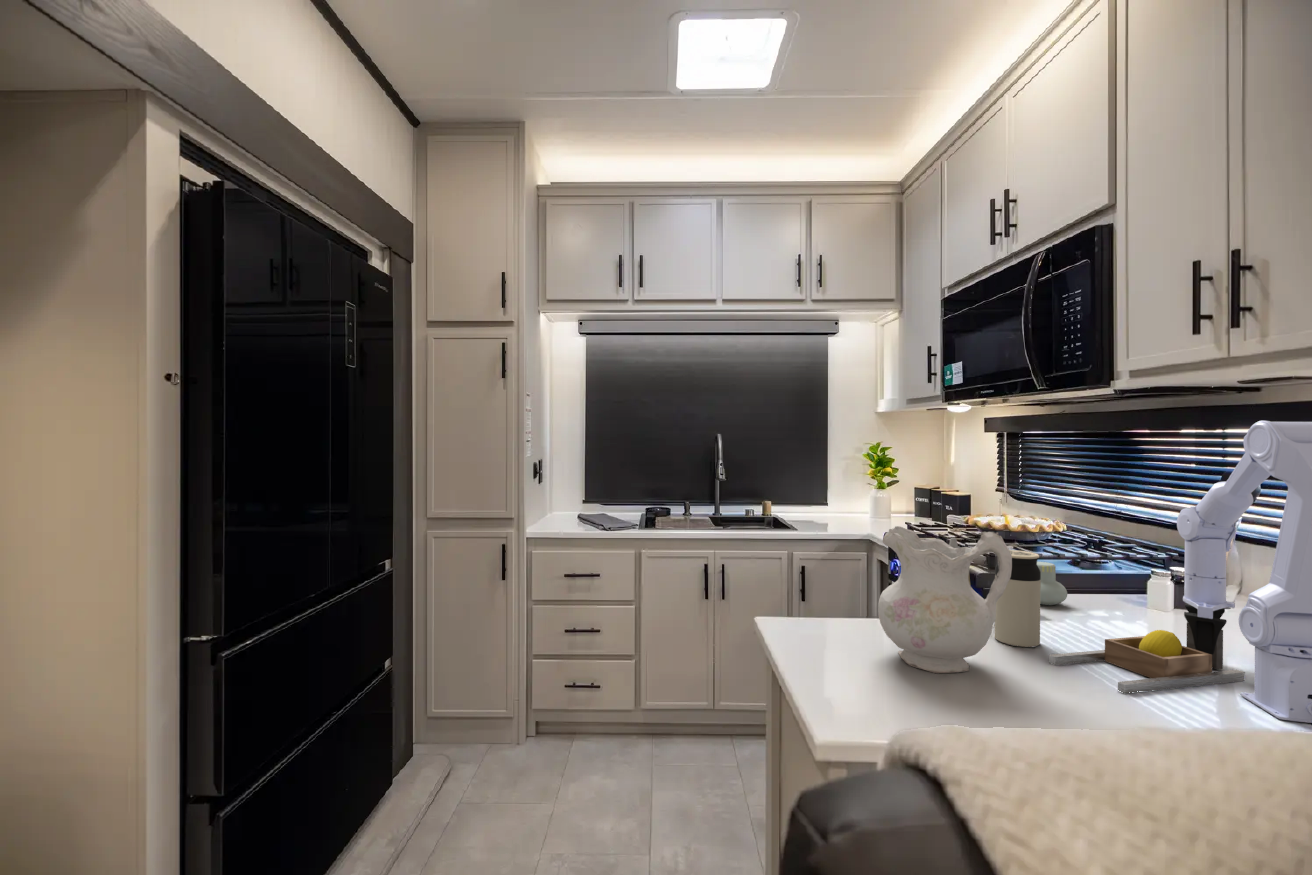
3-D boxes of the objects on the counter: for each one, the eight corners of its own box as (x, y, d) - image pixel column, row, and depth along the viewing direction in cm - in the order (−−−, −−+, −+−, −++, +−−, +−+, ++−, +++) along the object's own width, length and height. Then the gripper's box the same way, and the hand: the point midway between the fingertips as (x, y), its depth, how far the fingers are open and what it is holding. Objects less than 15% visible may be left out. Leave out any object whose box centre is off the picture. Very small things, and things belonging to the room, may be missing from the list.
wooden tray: (1164, 682, 103) (1164, 641, 103) (1104, 660, 114) (1104, 623, 114) (1242, 674, 108) (1243, 634, 108) (1178, 654, 118) (1178, 617, 118)
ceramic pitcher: (993, 658, 118) (991, 527, 120) (1025, 689, 99) (1022, 534, 101) (874, 647, 124) (874, 523, 126) (883, 675, 105) (882, 528, 107)
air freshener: (1072, 608, 151) (1073, 567, 151) (1039, 608, 151) (1040, 567, 151) (1042, 597, 162) (1043, 559, 162) (1012, 597, 162) (1012, 559, 162)
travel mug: (1029, 650, 119) (1030, 558, 119) (987, 639, 126) (988, 551, 126) (1046, 643, 124) (1047, 554, 124) (1005, 633, 130) (1006, 548, 131)
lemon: (1172, 677, 106) (1198, 645, 108) (1144, 652, 108) (1170, 620, 109) (1149, 676, 111) (1174, 645, 113) (1122, 652, 113) (1148, 622, 114)
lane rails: (1124, 694, 99) (1125, 684, 99) (1049, 662, 113) (1049, 654, 113) (1244, 680, 105) (1244, 672, 105) (1158, 652, 119) (1158, 645, 119)
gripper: (1237, 585, 105) (1236, 665, 104) (1233, 572, 115) (1232, 644, 115) (1182, 578, 109) (1181, 655, 109) (1183, 567, 120) (1183, 636, 120)
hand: (1204, 649), depth 113 cm, fingers open, 7 cm apart
